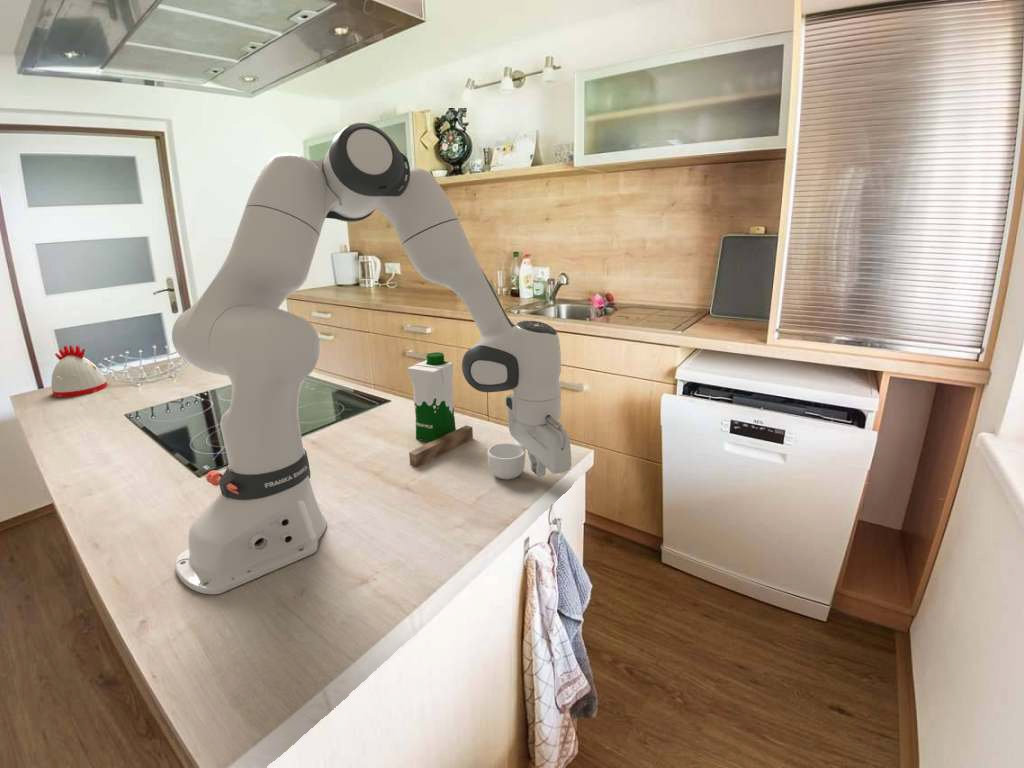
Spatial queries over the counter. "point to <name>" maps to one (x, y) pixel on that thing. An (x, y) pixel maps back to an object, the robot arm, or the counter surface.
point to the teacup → (506, 460)
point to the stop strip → (440, 446)
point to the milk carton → (433, 397)
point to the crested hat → (76, 374)
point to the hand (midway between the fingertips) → (538, 473)
